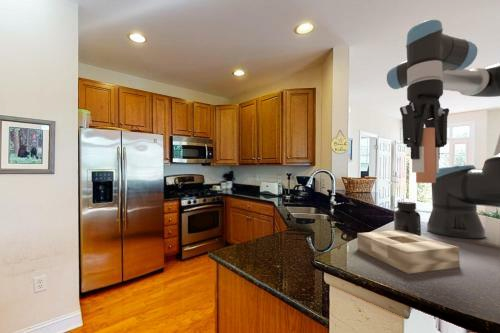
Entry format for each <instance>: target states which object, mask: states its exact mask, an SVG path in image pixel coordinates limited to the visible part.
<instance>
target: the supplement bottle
mask: <svg viewBox="0 0 500 333" xmlns="http://www.w3.org/2000/svg"><path fill="white" fill-rule="evenodd" d="M416 210H417V204H416V202H411V201H409V202H408V201H397V206H396V210H395V211H394V212H393V220H394V221H393V225H394V227H393V228H394V230H401V231H404V232H408V233H411V234H415V235H418V236H422V228H421V225H422V224H421V214H420V213H419V212H418V211H416ZM394 230H393V231H394Z"/></svg>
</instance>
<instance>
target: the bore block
mask: <svg viewBox="0 0 500 333" xmlns="http://www.w3.org/2000/svg"><path fill="white" fill-rule="evenodd" d="M356 235H357V236H356V238H357V240H356V241H357V250H358V251H360V252H362V253H364V254H366V255H369V256H371V257H372V258H374V259H377V260H379V261H381V262H383V263H385V264H387V265H390V266H391V267H394V268H396V269H398V270H400V271H402V272H404V273H406V274H408V275H409V274H416V273H425V272H433V271H439V270H448V269H459V268H460V267H461V265H460V264H461V263H460V262H461V260H460V246H457V245H453V244H449V243H446V242H443V241H440V240H435V239H431V238H429V237H426V236H422V235H421V236H418V235H415V234H411V233H408V232H404V231H401V230H384V231H383V230H381V231H369V232H357V233H356Z"/></svg>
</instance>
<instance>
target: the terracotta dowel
mask: <svg viewBox="0 0 500 333" xmlns="http://www.w3.org/2000/svg"><path fill="white" fill-rule="evenodd" d="M421 146H422V147H424V172H415V178H416V179H415V183H417V184H418V183H419V184H432V183H436V170H435V128H431V127H430V128H425V127H424V129H423V136H422V142H421ZM421 146H419V147H421Z"/></svg>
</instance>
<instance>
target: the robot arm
mask: <svg viewBox="0 0 500 333" xmlns="http://www.w3.org/2000/svg"><path fill="white" fill-rule="evenodd" d="M443 30H444V28H443V24H442V22H441V20H438V19H427V20H424V21H422V22H419V23H417V24H416V25H414V26H412V27H411V28H410V29H409V31H408V32H407V34H406V44H405V48H406V61H403V62H401V63H400V64H397V65H396V66H394V67H392V68H391V69H389V70H388V71H387V73H386V74H387V75H386V83H387V85H388V86H389V87H390V88H391V89H393V90H399V89H403V88H405V87H406V96H407V97H406V99H407V101H408V102H409V103H408V104H406V105H404V106H403V105H402V106H400V107H399V111H400V114H401V125H402V142H403V145H405V146H406V148H410V158H411V159H410V160H411V171H412V173H416V172H424V147H422V146H421V142H422V136H423V129H424V128H430V127H431V128H435V170H436V183H431V201H432V202H431V203H432V208H431V209H432V210H431V213H430V216H429V217H428V221H427V222H426V223H427V224H426V225H427V226H426V229H427V231H429V232H430V233H434V234H437V235H441V236H446V237H447V236H448V237H454V238H461V239H483V238H485V237H486V229H485V228H484V225H483V223H482V220H481V219H480V216H479V214H478V210H477V206H482V207H492V208H500V134H499V136H498V139H497V141H496V146H495V149H494V153H493V155H492V156H491V157H488V158H487V159H485V160H484V163H483V166H482V168H476V167H475V165H474V164H460V165H452V166H451V165H450V166H444V167H440V158H441V155H440V154H441V152H440V149H441V148H444V147H445V146H446V145H447V143H448V116H449V113H450V109H449V107H447V108H443V107H441V103H440V99H441V97H442V96H443V95H444V91H451V92H458V93H459V94H460V95H463V96H466V97H468V96H469V97H478V98H479V97H480V98H492V97H493V98H496V97H500V63H497V64H493V65H491V66H487V67H484V68H479V67H477V68H476V67H475V68H472V69H467V68H469V67H470V66H471V65H472V64H473V63H474V61H475V60H476V58H477V56H478V46H477V45H476V44H475V43H473V42H472V41H469V40H467V39H465V38H459V37H454V36H450V35H448V34H445V33H443ZM407 86H408V87H407ZM419 146H421V147H419Z"/></svg>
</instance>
